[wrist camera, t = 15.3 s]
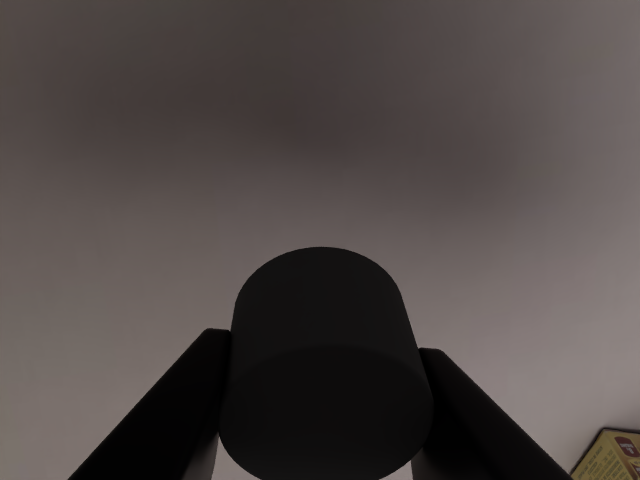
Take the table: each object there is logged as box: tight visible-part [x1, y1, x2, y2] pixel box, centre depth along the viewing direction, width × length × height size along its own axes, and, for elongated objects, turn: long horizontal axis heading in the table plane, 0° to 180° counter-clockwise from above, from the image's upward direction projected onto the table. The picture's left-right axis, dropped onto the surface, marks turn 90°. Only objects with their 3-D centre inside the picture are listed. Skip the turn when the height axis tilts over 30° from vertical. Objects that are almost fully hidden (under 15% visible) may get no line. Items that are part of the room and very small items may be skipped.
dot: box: [218, 247, 435, 480], centre depth 8 cm, size 3×3×2 cm
